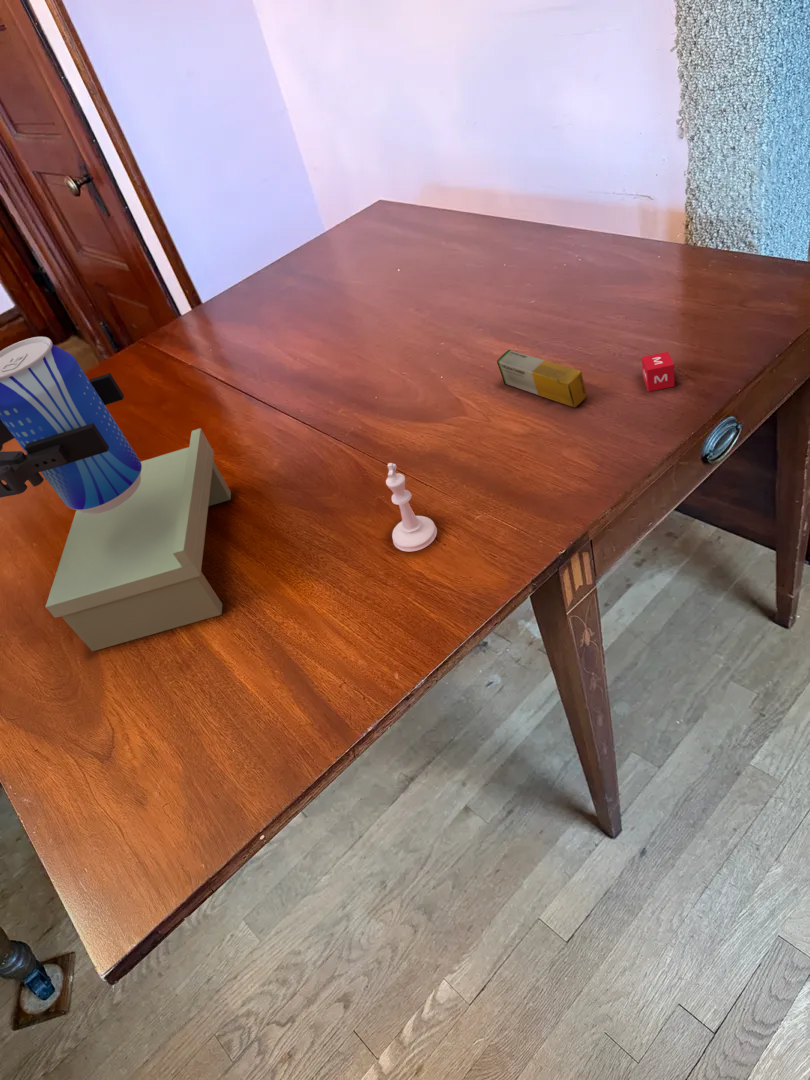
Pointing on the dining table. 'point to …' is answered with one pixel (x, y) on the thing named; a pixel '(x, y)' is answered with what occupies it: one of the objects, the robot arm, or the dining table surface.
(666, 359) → the red letter cube
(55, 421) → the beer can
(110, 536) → the shelf
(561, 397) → the medication box
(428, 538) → the chess piece
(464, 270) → the dining table surface
